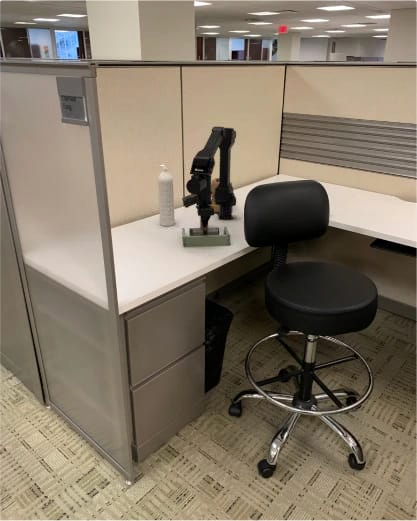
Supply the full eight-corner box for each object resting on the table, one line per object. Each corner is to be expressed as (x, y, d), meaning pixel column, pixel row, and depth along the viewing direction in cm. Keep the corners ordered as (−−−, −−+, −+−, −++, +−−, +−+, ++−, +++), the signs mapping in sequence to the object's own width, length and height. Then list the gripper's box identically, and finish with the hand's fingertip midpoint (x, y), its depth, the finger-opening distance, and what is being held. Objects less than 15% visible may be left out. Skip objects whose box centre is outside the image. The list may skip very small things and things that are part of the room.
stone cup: (235, 211, 197) (236, 180, 191) (213, 215, 192) (213, 183, 186) (221, 203, 210) (221, 174, 203) (200, 206, 205) (199, 176, 198)
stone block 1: (193, 237, 166) (192, 228, 165) (202, 237, 166) (202, 228, 165) (192, 241, 163) (192, 232, 161) (203, 241, 163) (203, 232, 161)
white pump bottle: (176, 225, 180) (174, 168, 169) (161, 227, 178) (158, 169, 167) (171, 219, 187) (169, 164, 176) (157, 220, 185) (154, 165, 175)
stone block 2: (206, 237, 166) (206, 228, 165) (216, 236, 167) (216, 227, 165) (208, 241, 163) (208, 231, 161) (218, 240, 164) (218, 231, 162)
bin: (182, 237, 167) (182, 228, 165) (226, 235, 168) (226, 226, 167) (183, 247, 158) (183, 237, 156) (230, 245, 159) (230, 235, 158)
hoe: (189, 234, 169) (189, 214, 165) (218, 233, 170) (218, 213, 166) (189, 237, 166) (189, 216, 162) (219, 236, 167) (219, 215, 163)
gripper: (182, 182, 167) (183, 218, 174) (184, 195, 150) (185, 234, 157) (209, 181, 168) (209, 217, 175) (214, 194, 151) (214, 233, 158)
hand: (204, 225), depth 166 cm, fingers closed on hoe, 3 cm apart
